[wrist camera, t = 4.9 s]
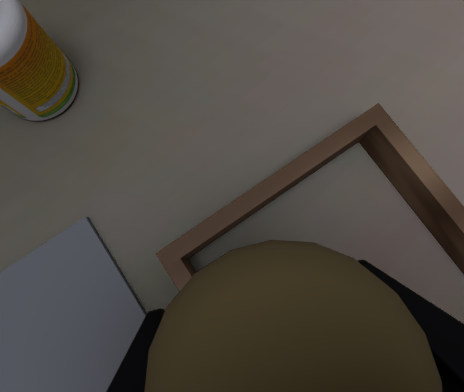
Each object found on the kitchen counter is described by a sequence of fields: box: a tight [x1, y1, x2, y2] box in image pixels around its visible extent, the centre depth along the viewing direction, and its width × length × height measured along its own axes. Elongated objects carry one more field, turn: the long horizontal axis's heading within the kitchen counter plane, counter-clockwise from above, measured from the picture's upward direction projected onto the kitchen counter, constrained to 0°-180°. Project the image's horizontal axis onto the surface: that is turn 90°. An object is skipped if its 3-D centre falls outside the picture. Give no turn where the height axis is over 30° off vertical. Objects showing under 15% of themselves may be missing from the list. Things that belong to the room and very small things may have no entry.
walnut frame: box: [156, 103, 464, 291], centre depth 21 cm, size 16×16×3 cm
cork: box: [144, 240, 442, 392], centre depth 10 cm, size 6×6×11 cm
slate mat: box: [0, 217, 146, 392], centre depth 21 cm, size 14×14×1 cm
